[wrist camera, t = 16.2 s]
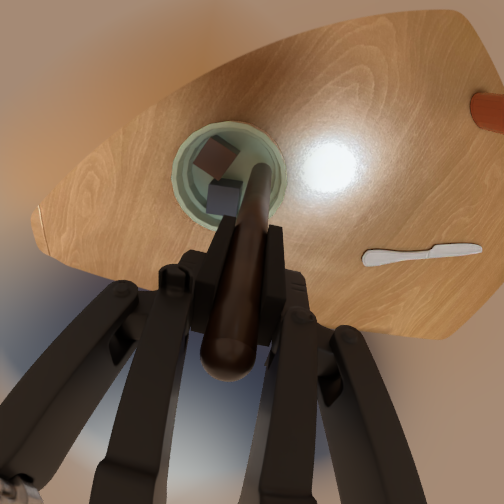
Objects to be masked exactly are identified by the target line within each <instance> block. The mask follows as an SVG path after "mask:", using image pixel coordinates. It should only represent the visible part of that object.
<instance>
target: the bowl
mask: <svg viewBox="0 0 504 504" xmlns="http://www.w3.org/2000/svg"><path fill="white" fill-rule="evenodd" d="M214 135H218V136H220V137H221V138H223V139H224V140H226V141H227V142H228V143H230V144H231V145H233V146H234V147H236V148H237V149H239V150H240V151H241V152H240V153H239V154H238V156H237V157H236V158H235V160H234V161H233V162H232V164H231V165H230V167H229V168H228V169H227V171H226V172H225V173H224V175H223V176H222V177H221V178H226V179H232V180H239V181H243V187H242V193H241V200H240V206H241V203H242V200H243V196H244V193H245V190H246V187H247V183H248V180H249V177H250V174H251V170H252V168H253V166H254V165H256V164H257V163H266V164H268V165H269V166H270V167H271V170H272V180H271V193H270V206H269V218H271V217H272V216H273V215H274V214H275V212H276V210H277V209H278V207H279V206H280V204H281V203H282V201H283V198H284V195H285V191H286V187H287V173H286V164H285V161H284V158H283V155H282V153H281V151H280V149H279V146H278V144H277V143H276V142H275V141H274V140H273V138H272V137H271V136H270V135H269V134H268V133H267V132H266V131H264V130H263V129H261V128H259V127H257V126H255V125H253V124H251V123H247V122H242V121H236V120H233V121H225V122H218V123H212V124H209V125H207V126H205V127H203V128H201V129H199V130H197V131H195V132H194V133H192V134H191V135H190V136H189V137H188V138H187V139H186V140H185V141H184V142H183V144H182V145H181V146H180V148H179V150H178V152H177V154H176V156H175V159H174V162H173V167H172V176H171V178H172V179H171V180H172V185H173V190H174V195H175V197H176V199H177V201H178V203H179V204H180V206H181V208H182V210H183V211H184V212H185V213H186V214H187V215H188V216H189V217H190V218H191V219H192V220H193V221H194V222H196V223H198V224H199V225H201V226H203V227H205V228H207V229H209V230H212V231H217V229H218V226H219V224H220V222H221V220H222V217H223V216H220V215H213V214H207V213H206V205H207V194H208V185H209V183H210V182H211V181H212V180H213V179H214V178H213V177H212V176H210V175H209V174H208V173H206V172H205V171H203V170H202V169H200V168H199V167H197V166H196V165H194V164H193V161H194V160H195V158H196V157H197V155H198V154H199V152H200V151H201V149H202V148H203V146H204V145H205V144H206V142H207V141H208V139H209V138H210V137H211V136H214ZM239 210H240V207H239ZM239 210H238V213H239ZM238 213H237V216H238ZM237 216H236V217H237ZM269 218H268V219H269ZM236 220H237V218H236Z"/></svg>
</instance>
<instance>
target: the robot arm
mask: <svg viewBox="0 0 504 504" xmlns="http://www.w3.org/2000/svg"><path fill="white" fill-rule="evenodd" d="M236 218H237V217H233V216H228V215H223V217H222V220H221V222H220V224H219V226H218V229H217V231H216V233H215V235H214V238H213V240H212V242H211V244H210V247H209V249H208V251H207V253H204V252H200V251H195V250H189V251H187V252H186V253H184V254H183V256H182V258H181V259H180V261H179V263H178V264H169V265H166V266H164V267H162V268H161V269H160V270H159V289H158V290H155V291H138V287H137V286H136V284H134V283H133V282H131V281H127V280H118V281H115V282H112V283H111V284H109V285H108V286H107V287H106V288H105V289H104V290H103V291H102V292H101V293H100V294H99V295H98V296H97V297H96V298H95V299H94V300H93V301H92V302H91V303H90V304H89V305H88V306H87V307H86V308H85V309H84V310H83V311H82V312H81V313H80V314H79V315H78V316H77V317H76V318H75V319H74V320H73V321H72V322H71V323H70V324H69V325H68V326H67V327H66V328H65V329H64V330H63V331H62V333H61V334H60V335H59V336H58V337H57V338H56V339H55V340H54V341H53V342H52V343H51V345H50V346H49V347H48V348H47V349H46V350H45V351H44V352H43V354H42V355H41V356H40V357H39V358H38V359H37V360H36V362H35V363H34V364H33V365H32V366H31V367H30V369H29V370H28V371H27V372H26V373H25V375H24V376H23V377H22V378H21V380H20V381H19V382H18V383H17V384H16V386H15V387H14V388H13V389H12V391H11V392H10V393H9V394H8V396H7V397H6V398H5V400H4V401H3V402H2V404H1V405H0V504H44V503H43V500H42V498H41V496H40V494H39V492H38V491H40V490H41V489H42V488H43V487H44V486H45V485H46V484H47V483H48V482H49V481H50V480H51V479H52V477H53V476H54V474H55V473H56V472H57V470H58V468H59V466H60V465H61V463H62V461H63V460H64V458H65V457H66V455H67V453H68V451H69V450H70V448H71V447H72V445H73V443H74V442H75V440H76V438H77V437H78V435H79V434H80V432H81V430H82V429H83V427H84V426H85V424H86V422H87V421H88V419H89V418H90V416H91V415H92V413H93V412H94V410H95V409H96V407H97V405H98V404H99V402H100V400H101V399H102V398H103V396H104V395H105V393H106V392H107V390H108V389H109V387H110V386H111V384H112V383H113V381H114V380H115V378H116V377H117V375H118V374H119V372H120V371H121V369H122V368H123V366H124V365H125V364H126V362H127V361H128V359H129V358H130V356H131V355H132V353H133V352H134V350H135V349H136V348H137V349H136V352H135V355H134V358H133V361H132V364H131V367H130V370H129V373H128V376H127V379H126V383H125V386H124V389H123V393H122V396H121V400H120V403H119V407H118V410H117V414H116V417H115V421H114V425H113V429H112V433H111V437H110V441H109V446H108V449H107V453H106V456H105V458H104V459H103V460H102V461H101V462H99V464H98V466H97V468H96V471H95V475H94V480H93V485H92V490H91V496H90V502H89V504H166V498H167V477H168V467H169V459H170V451H171V443H172V436H173V429H174V422H175V415H176V408H177V401H178V395H179V389H180V383H181V376H182V371H183V365H184V360H185V354H186V349H187V343H188V337H189V329H190V326H191V331H194V332H199V333H203V334H204V333H205V329H206V325H207V322H208V318H209V314H210V312H211V310H212V306H213V303H214V299H215V295H216V292H217V288H218V284H219V281H220V277H221V274H222V270H223V266H224V263H225V259H226V256H227V252H228V249H229V245H230V242H231V238H232V235H233V232H234V228H235V223H236ZM271 340H272V347H271V350H270V352H269V355H268V357H267V360H266V362H265V366H266V372H265V377H264V383H263V388H262V394H261V399H260V405H259V410H258V416H257V421H256V425H255V430H254V435H253V440H252V445H251V450H250V455H249V460H248V464H247V469H246V473H245V478H244V483H243V487H242V491H241V496H240V499H239V502H238V504H317V501H316V500H315V498H314V497H313V496H312V478H313V468H314V454H315V437H316V416H317V400H318V403H319V408H320V412H321V416H322V420H323V424H324V428H325V433H326V437H327V441H328V446H329V450H330V454H331V459H332V463H333V467H334V472H335V477H336V481H337V486H338V491H339V495H340V500H341V504H427V502H426V498H425V495H424V492H423V488H422V485H421V482H420V478H419V475H418V473H417V470H416V466H415V463H414V460H413V457H412V454H411V451H410V449H409V446H408V443H407V440H406V438H405V435H404V432H403V429H402V427H401V424H400V421H399V419H398V416H397V414H396V411H395V409H394V406H393V403H392V401H391V399H390V396H389V394H388V391H387V389H386V387H385V384H384V382H383V379H382V377H381V375H380V373H379V370H378V368H377V366H376V363H375V361H374V359H373V356H372V354H371V352H370V350H369V348H368V346H367V343H366V341H365V339H364V337H363V335H362V334H361V332H360V331H358V330H357V329H356V328H354V327H352V326H348V325H340V326H338V327H337V328H336V329H335V331H334V330H331V329H329V328H326V327H324V326H322V325H320V324H319V323H317V320H316V316H315V315H314V314H313V313H312V312H311V311H310V308H309V301H308V295H307V288H306V282H305V278H304V277H303V275H302V274H301V273H300V272H297V271H293V270H288V269H285V261H284V245H283V231H282V227H279V226H275V225H270V224H269V228H268V232H267V239H266V251H265V262H264V273H263V284H262V295H261V305H260V316H259V330H258V341H257V345H263V346H268V347H269V345H270V342H271Z"/></svg>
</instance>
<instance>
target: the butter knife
mask: <svg viewBox="0 0 504 504" xmlns="http://www.w3.org/2000/svg"><path fill="white" fill-rule="evenodd" d="M481 252H482V247H481V246H479V245H476V244H445V245H435V246H434V247H433V248H432V249H431V250H428V251H416V252H398V251H388V250H368V251H367V252H365V254H364V255H363V257H362V262H363V264H364V265H365V266H379V265H384V264H389V263H393V262H398V261H403V260H412V259H427V258H439V257H451V256H461V255H469V254H476V253H481Z"/></svg>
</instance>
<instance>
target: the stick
mask: <svg viewBox="0 0 504 504" xmlns="http://www.w3.org/2000/svg"><path fill="white" fill-rule="evenodd" d="M271 180H272V170H271V167H270V166H269V165H268V164H266V163H257V164H256V165H254V166H253V168H252V170H251V174H250V177H249V180H248V183H247V187H246V190H245V193H244V196H243V200H242V203H241V206H240V210H239V213H238V216H237V220H236V223H235V228H234V232H233V235H232V238H231V242H230V245H229V249H228V252H227V256H226V259H225V263H224V266H223V270H222V274H221V277H220V281H219V284H218V288H217V292H216V295H215V299H214V303H213V306H212V310H211V312H210V314H209V318H208V322H207V325H206V329H205V333H204V337H203V340H202V344H201V349H200V360H201V363H202V366H203V367H204V369H205V370H206V372H207V373H208V374H209V375H211V376H212V377H213V378H215V379H217V380H221V381H226V382H231V381H236V380H239V379H241V378H243V377H244V376H246V375H247V374H248V373H249V372H250V371H251V369H252V368H253V366H254V363H255V359H256V351H257V341H258V330H259V316H260V305H261V295H262V284H263V273H264V262H265V251H266V239H267V230H268V218H269V206H270V193H271Z"/></svg>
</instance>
